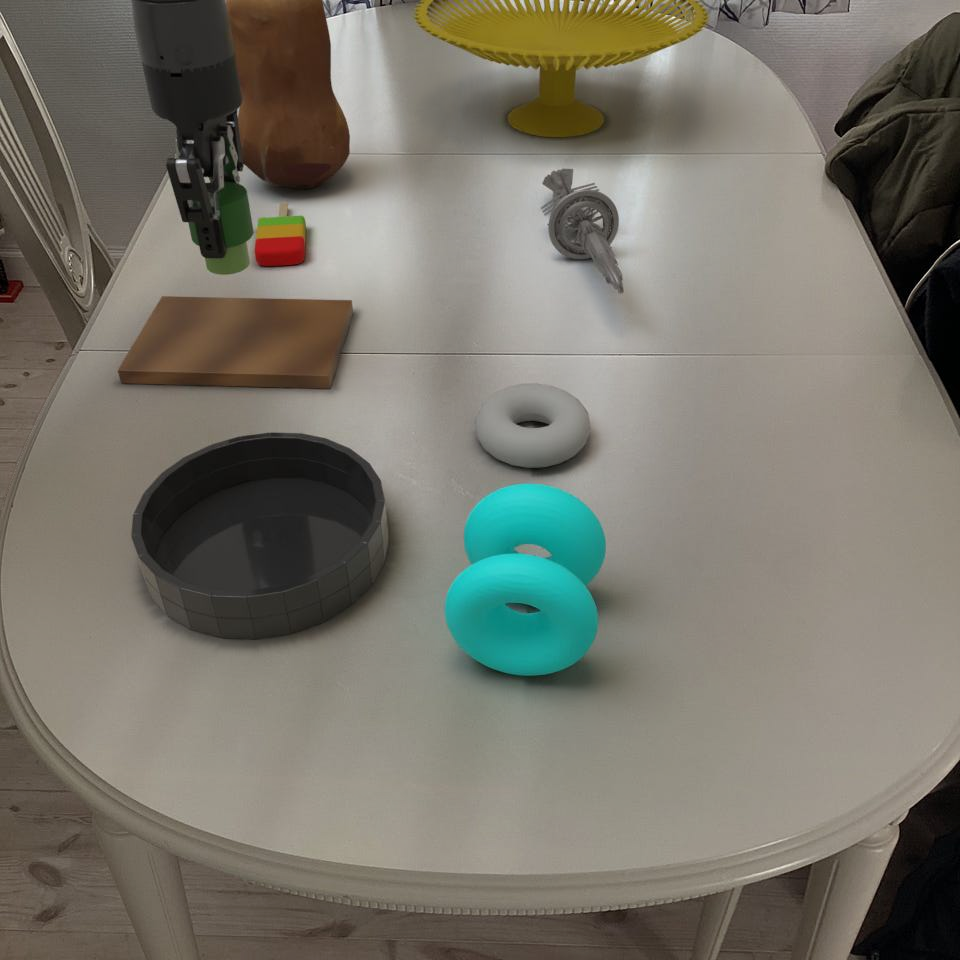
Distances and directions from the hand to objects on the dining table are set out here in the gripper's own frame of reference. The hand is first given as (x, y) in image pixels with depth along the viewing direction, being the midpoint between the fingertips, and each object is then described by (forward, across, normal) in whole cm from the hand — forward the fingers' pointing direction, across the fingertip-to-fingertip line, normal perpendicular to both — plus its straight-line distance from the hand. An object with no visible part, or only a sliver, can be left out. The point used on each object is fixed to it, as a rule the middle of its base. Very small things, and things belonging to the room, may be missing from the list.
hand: (223, 240), depth 94 cm
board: (+11, 0, 0) cm, 11 cm away
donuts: (+12, +36, +29) cm, 48 cm away
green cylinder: (+2, 0, 0) cm, 2 cm away
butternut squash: (+12, -39, -2) cm, 41 cm away
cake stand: (+12, -63, +31) cm, 71 cm away
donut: (+12, +14, +29) cm, 34 cm away
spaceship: (+12, -20, +34) cm, 41 cm away
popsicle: (+12, -24, -1) cm, 27 cm away
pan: (+11, +29, +9) cm, 32 cm away
